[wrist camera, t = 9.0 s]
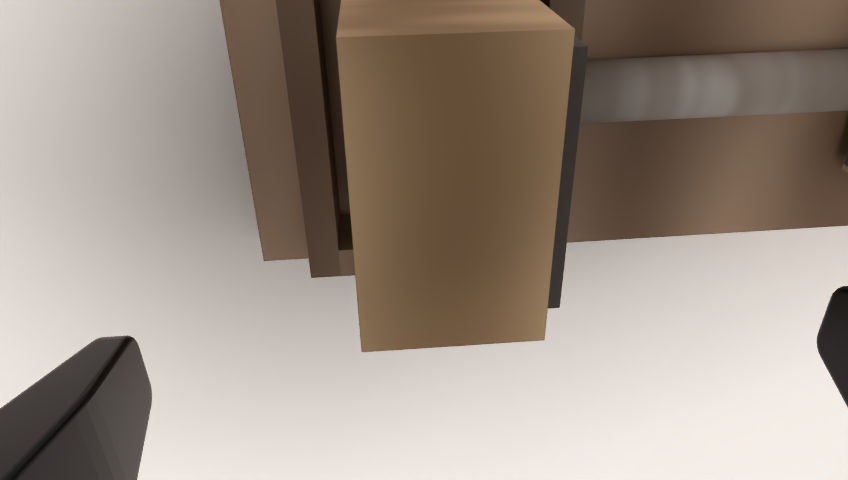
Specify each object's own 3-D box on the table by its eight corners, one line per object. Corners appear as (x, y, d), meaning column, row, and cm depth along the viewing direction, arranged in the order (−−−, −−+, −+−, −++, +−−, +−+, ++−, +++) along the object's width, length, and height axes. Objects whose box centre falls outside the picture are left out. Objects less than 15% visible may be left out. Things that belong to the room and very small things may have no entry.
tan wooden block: (510, -37, 16) (601, 27, 10) (499, 185, 19) (563, 338, 13) (345, -33, 16) (336, 37, 10) (361, 192, 19) (361, 352, 13)
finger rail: (1136, -147, 17) (1703, -148, 10) (982, 194, 22) (1282, 358, 15) (212, -123, 16) (85, -104, 9) (269, 235, 21) (220, 440, 14)
